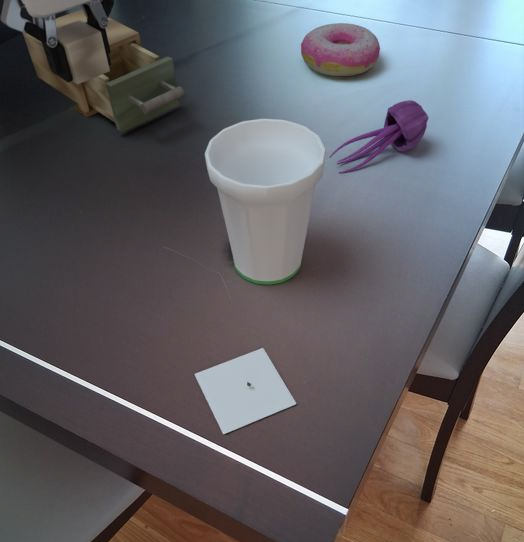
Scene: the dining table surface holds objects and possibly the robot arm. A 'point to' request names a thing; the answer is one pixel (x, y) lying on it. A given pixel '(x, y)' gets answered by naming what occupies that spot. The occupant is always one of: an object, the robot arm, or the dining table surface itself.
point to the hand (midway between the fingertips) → (83, 68)
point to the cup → (266, 193)
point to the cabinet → (74, 91)
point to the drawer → (133, 87)
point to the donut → (340, 49)
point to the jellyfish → (392, 132)
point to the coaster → (244, 390)
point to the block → (83, 50)
